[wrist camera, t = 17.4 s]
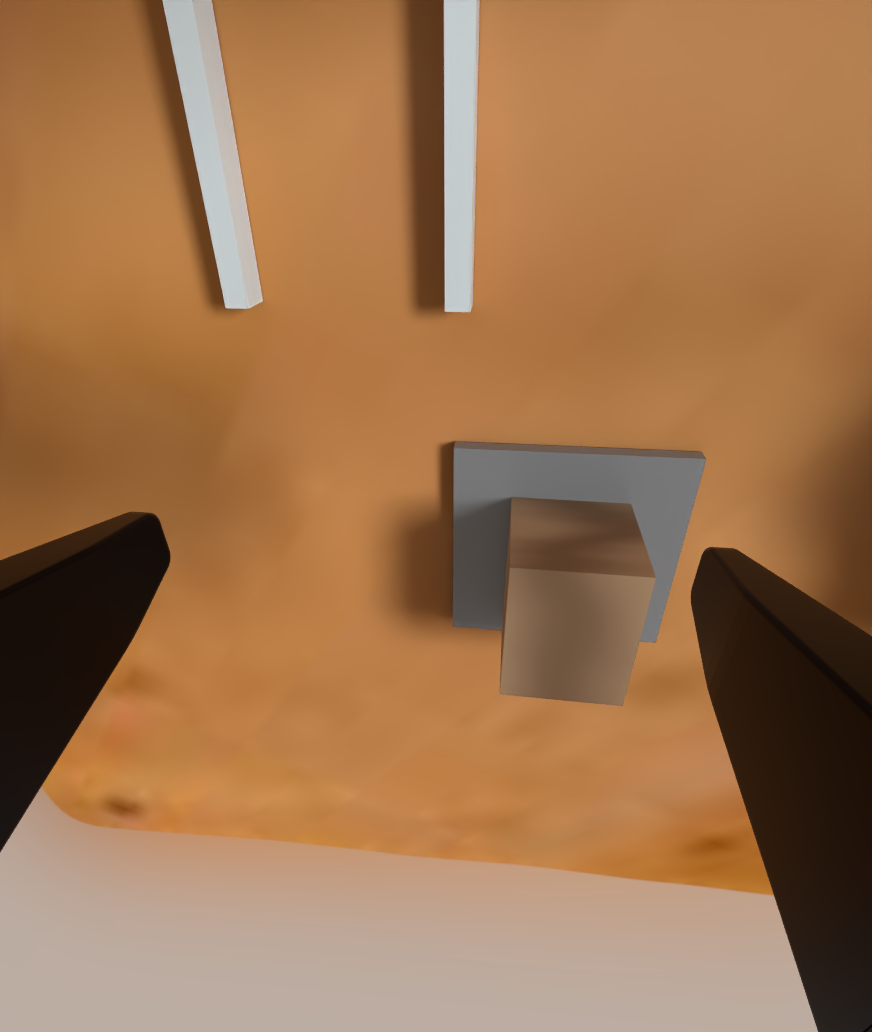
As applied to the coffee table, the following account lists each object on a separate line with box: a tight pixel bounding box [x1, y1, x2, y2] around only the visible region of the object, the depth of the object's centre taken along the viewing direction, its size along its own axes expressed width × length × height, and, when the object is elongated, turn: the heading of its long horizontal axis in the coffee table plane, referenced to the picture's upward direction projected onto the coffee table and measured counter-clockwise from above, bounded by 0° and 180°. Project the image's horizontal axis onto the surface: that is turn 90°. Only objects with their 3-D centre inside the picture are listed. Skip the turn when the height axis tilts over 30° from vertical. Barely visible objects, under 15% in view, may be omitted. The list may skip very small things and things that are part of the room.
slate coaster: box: [453, 441, 706, 643], centre depth 23 cm, size 9×9×1 cm
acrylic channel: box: [162, 0, 480, 312], centre depth 15 cm, size 8×14×1 cm, turn 0°
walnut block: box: [500, 497, 656, 706], centre depth 21 cm, size 4×6×4 cm
